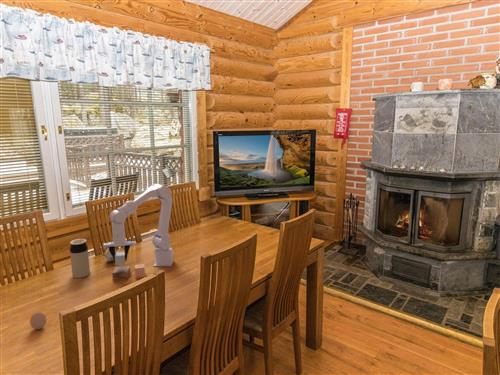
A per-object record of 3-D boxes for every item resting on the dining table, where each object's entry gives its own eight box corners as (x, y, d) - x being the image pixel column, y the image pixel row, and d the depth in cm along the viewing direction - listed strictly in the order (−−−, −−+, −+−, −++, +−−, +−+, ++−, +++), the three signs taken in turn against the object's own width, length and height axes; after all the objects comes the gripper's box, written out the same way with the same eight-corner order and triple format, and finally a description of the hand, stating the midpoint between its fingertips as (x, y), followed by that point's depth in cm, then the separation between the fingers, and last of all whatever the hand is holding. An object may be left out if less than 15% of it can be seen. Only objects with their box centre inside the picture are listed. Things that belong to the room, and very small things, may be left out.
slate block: (126, 261, 170) (125, 251, 170) (125, 264, 166) (124, 255, 165) (116, 261, 169) (116, 252, 169) (115, 265, 165) (114, 255, 164)
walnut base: (130, 273, 173) (130, 266, 172) (127, 279, 166) (126, 272, 165) (116, 274, 172) (115, 266, 171) (112, 280, 165) (112, 272, 164)
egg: (27, 330, 125) (25, 314, 123) (40, 323, 129) (38, 307, 128) (37, 333, 123) (35, 317, 122) (50, 326, 128) (48, 309, 126)
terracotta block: (145, 272, 173) (144, 263, 172) (144, 276, 169) (144, 267, 168) (135, 274, 172) (135, 264, 171) (135, 277, 167) (134, 268, 166)
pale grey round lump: (113, 268, 186) (112, 259, 179) (100, 262, 187) (98, 252, 180) (123, 256, 192) (122, 246, 185) (110, 249, 193) (109, 240, 186)
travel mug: (93, 272, 173) (90, 239, 169) (81, 279, 165) (77, 244, 162) (81, 270, 175) (78, 237, 172) (68, 277, 168) (65, 242, 164)
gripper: (135, 230, 170) (136, 256, 173) (104, 232, 167) (106, 258, 170) (133, 235, 163) (135, 261, 166) (101, 237, 160) (104, 264, 163)
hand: (120, 260), depth 167 cm, fingers closed on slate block, 4 cm apart
